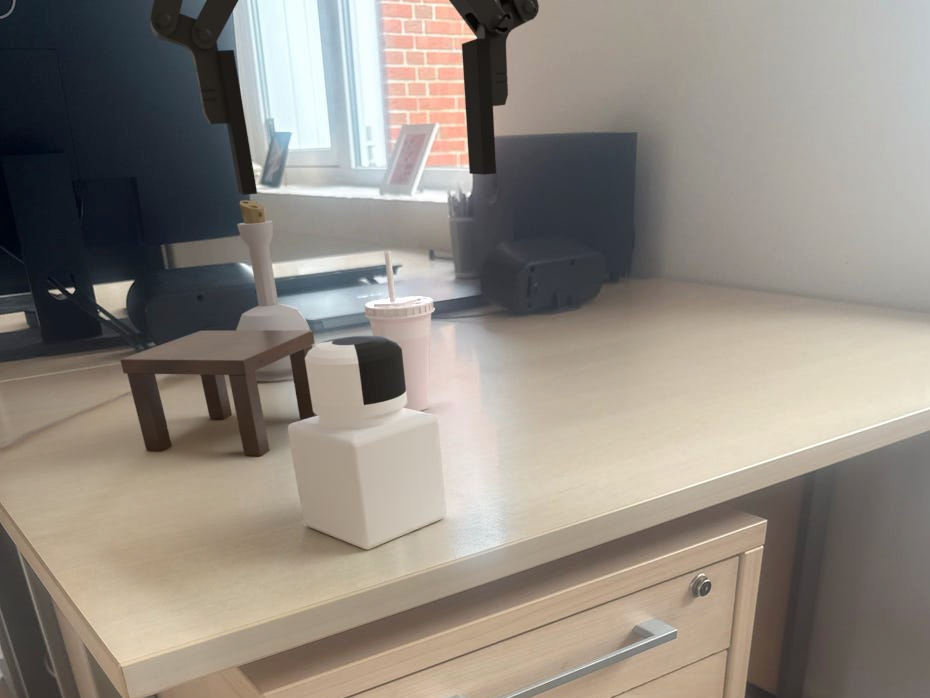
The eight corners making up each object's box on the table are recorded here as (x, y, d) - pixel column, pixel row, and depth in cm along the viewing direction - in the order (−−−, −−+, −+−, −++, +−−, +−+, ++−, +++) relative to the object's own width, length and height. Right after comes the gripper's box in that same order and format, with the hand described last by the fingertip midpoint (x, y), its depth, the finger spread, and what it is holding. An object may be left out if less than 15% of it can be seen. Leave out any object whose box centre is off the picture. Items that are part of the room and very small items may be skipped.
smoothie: (368, 405, 89) (348, 251, 82) (429, 395, 91) (415, 244, 84) (388, 420, 84) (369, 257, 77) (452, 409, 86) (439, 249, 79)
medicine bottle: (382, 496, 66) (361, 325, 60) (449, 518, 62) (433, 335, 56) (302, 526, 62) (271, 346, 56) (366, 552, 57) (340, 358, 52)
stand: (142, 451, 80) (119, 359, 76) (218, 413, 90) (200, 330, 86) (261, 457, 76) (243, 360, 73) (326, 417, 86) (313, 330, 82)
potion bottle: (281, 363, 109) (254, 197, 100) (334, 369, 104) (310, 195, 96) (225, 380, 103) (190, 205, 94) (278, 387, 98) (247, 203, 89)
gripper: (4, -405, 35) (140, 205, 45) (598, -363, 41) (598, 166, 51) (25, -319, 41) (140, 199, 51) (538, -294, 47) (548, 165, 58)
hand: (369, 184), depth 51 cm, fingers open, 13 cm apart
